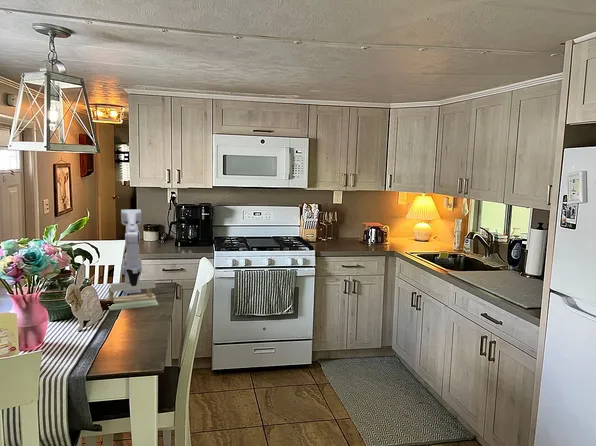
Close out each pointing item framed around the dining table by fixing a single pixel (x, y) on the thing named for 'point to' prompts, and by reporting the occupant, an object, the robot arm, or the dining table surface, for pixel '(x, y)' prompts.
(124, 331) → the dining table surface
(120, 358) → the dining table surface
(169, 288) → the dining table surface
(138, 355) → the dining table surface
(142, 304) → the mat
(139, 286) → the rail
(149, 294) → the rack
